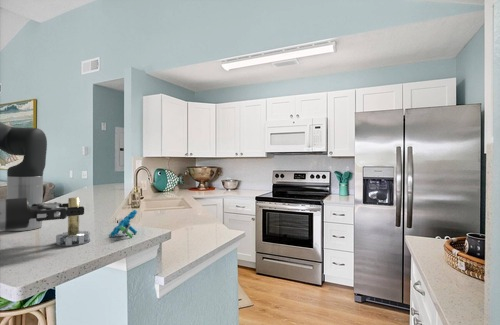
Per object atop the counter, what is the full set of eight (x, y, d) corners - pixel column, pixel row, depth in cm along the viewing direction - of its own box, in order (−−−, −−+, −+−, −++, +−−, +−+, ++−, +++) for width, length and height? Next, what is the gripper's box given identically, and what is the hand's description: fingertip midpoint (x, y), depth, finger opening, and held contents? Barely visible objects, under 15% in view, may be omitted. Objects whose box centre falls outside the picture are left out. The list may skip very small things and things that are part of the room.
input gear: (51, 246, 72) (52, 200, 72) (62, 238, 79) (62, 196, 79) (85, 244, 74) (86, 199, 74) (92, 236, 81) (93, 196, 81)
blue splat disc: (112, 226, 89) (135, 204, 90) (126, 237, 91) (149, 216, 92) (104, 240, 79) (130, 215, 80) (120, 252, 80) (146, 228, 81)
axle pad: (51, 247, 71) (51, 246, 71) (62, 239, 79) (62, 238, 79) (86, 245, 74) (86, 244, 74) (93, 237, 82) (93, 236, 82)
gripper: (4, 202, 61) (86, 197, 72) (3, 196, 72) (75, 192, 83) (3, 236, 61) (86, 226, 72) (2, 225, 72) (75, 217, 83)
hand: (80, 208), depth 78 cm, fingers open, 8 cm apart
